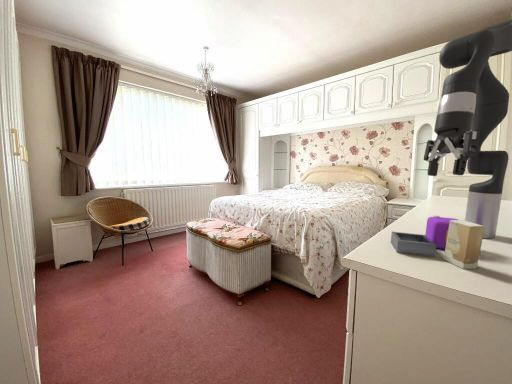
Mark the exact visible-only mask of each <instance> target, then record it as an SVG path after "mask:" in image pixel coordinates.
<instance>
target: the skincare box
mask: <svg viewBox="0 0 512 384" xmlns="http://www.w3.org/2000/svg"><path fill="white" fill-rule="evenodd" d="M484 228H485V226H482V225H478V224H475V223H472V222H468V221H465V219H458V220H450V223H449V230H448V236H447V242H446V248H445V249H444V257H443V260H444V261H447V262H449V263H450V264H452V265H454V266H457V267H459V268H460V269H463V270H470V269H471V270H472V269H473V270H475V269H478V266H479V260H480V256H481V255H480V253H481V248H482V244H483V243H482V242H483V239H484V238H483V233H484Z"/></svg>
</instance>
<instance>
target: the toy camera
mask: <svg viewBox="0 0 512 384" xmlns="http://www.w3.org/2000/svg"><path fill="white" fill-rule="evenodd" d="M450 220H459V219H458V218H453V217H443V216H441V217H440V215H435V214H434V215H432V216H429V217H427V219H426V226H425V234H424V235H426V236H427V237H428V238H429V239H430V240H431V241H433V242H434V243H435V244H436V249H441V250H445V248H446V242H447V236H448V230H449V223H450Z"/></svg>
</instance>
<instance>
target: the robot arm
mask: <svg viewBox="0 0 512 384" xmlns="http://www.w3.org/2000/svg"><path fill="white" fill-rule="evenodd" d="M510 52H512V19H509V20H506V21H503V22H499V23H497V24H492V25H491V26H487V27H484V28H482V29H479V30H478V31H475V32H472V33H469V34H467V35H464V36H461V37H458V38H454V39H452V40H449V41H448V42H447V43H445V45H443V47H442V48H441V50H440V53H439V58H438V59H439V60H438V61H439V64H440V65H441V66H442V67H443V68H444V69H448V70H452V69H456V68H460V67H462V68H461V69H459V70H456V71H455V72H452V73H451V74H449V75H447V76H446V77H445V79H444V80H443V84H442V91H441V97H440V101H439V104H438V106H437V107H438V108H437V112H436V118H435V124H434V129H433V132H434V133H435V134H436V135H437V137H436V139H434V140H432V139H428V140H427V142H426V145H425V150H424V156H423V161H426V162H428V168H427V176H431V177H437V176H438V171H439V165H440V163H439V162H440V161H441V160H442V158H444V157H446V156H447V154H448V155H449V154H453V156H454V157H455V159H454V163H453V169H452V174H453V175H455V176H463V175H464V174H465V172H466V169H467V172H468V173H469V174H470V175H478V176H479V175H480V176H482V175H483V176H492V177H491V178H490V179H487V180H485V181H481V182H475V183H471V184H470V185H469V187H468V193H467V194H468V195H467V201H466V202H467V203H466V209H465V210H466V211H465V218H464V221H468V222H472V223H475V224H478V225H482V226H485V228H484V233H483V239H495V238H496V234H497V229H498V228H497V227H498V223H499V221H498V220H499V215H500V210H501V209H500V208H501V202H502V196H503V189H504V182H505V177H506V173H507V168H508V165H509V153H508V152H507V151H506V150H481V149H482V146H483V143H484V142H485V141H486V139H487V138H488V137H489V136H490V135H491V134H492V133H493V132H494V130H495V129H496V128H497V127H498V126H499V125H500V124H501V123H502V122H503V121H504V120H505V118H506V117H507V115H508V110H509V102H510V92H509V91H508V90H507V88H506V87H505V86H504V85H503V83H502V82H501V81H500V80H499V79H498V78H497V77H496V76H495V74H494V73H493V71H492V69H491V67H490V63H489V59H490V58H491V57H496V56H499V55H504V54H507V53H510Z"/></svg>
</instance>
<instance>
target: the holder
mask: <svg viewBox="0 0 512 384" xmlns="http://www.w3.org/2000/svg"><path fill="white" fill-rule="evenodd" d="M390 244H391V245H392V247H393V249H394V250H395V252H396V253H399V254H405V255H413V256H421V257H429V258H436V254H437V253H436V250H437V248H436V244H435V243H434V242H433V241H431V240H430V239H429V238H428V237H427V236H426V235H425V234H420V233H419V234H418V233H409V232H399V231H391V235H390Z"/></svg>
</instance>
